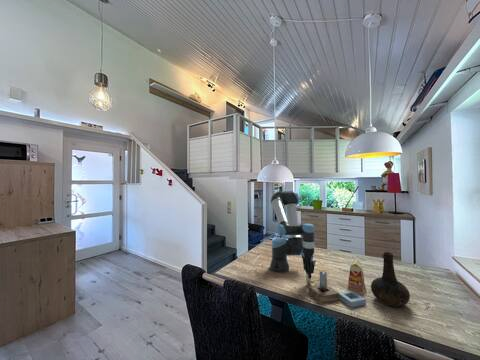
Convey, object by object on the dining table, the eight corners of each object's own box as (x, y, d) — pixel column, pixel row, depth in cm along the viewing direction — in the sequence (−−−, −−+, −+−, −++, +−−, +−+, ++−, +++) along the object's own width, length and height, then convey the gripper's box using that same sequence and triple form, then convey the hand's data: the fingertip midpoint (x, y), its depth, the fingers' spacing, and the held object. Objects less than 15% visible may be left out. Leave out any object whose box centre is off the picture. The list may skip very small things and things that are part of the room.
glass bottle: (410, 301, 117) (409, 252, 118) (409, 316, 104) (408, 261, 104) (374, 290, 129) (373, 246, 129) (368, 303, 115) (367, 253, 116)
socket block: (308, 292, 127) (308, 286, 127) (325, 289, 130) (325, 283, 130) (321, 303, 115) (321, 296, 116) (339, 299, 119) (338, 292, 119)
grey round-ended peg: (318, 294, 124) (318, 271, 125) (324, 293, 125) (323, 270, 126) (322, 298, 120) (322, 274, 121) (328, 297, 121) (328, 273, 122)
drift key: (306, 285, 136) (306, 280, 136) (312, 284, 137) (312, 279, 137) (314, 291, 127) (314, 287, 127) (320, 290, 129) (320, 286, 129)
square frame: (337, 297, 121) (337, 292, 121) (351, 295, 124) (351, 290, 124) (351, 307, 111) (351, 302, 111) (365, 304, 114) (365, 299, 114)
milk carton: (350, 285, 136) (349, 255, 137) (366, 289, 130) (365, 258, 131) (347, 290, 129) (346, 258, 130) (364, 295, 123) (363, 262, 124)
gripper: (298, 244, 143) (298, 278, 142) (309, 250, 130) (309, 287, 130) (307, 244, 145) (307, 277, 144) (319, 249, 132) (319, 286, 132)
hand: (308, 282), depth 137 cm, fingers closed
